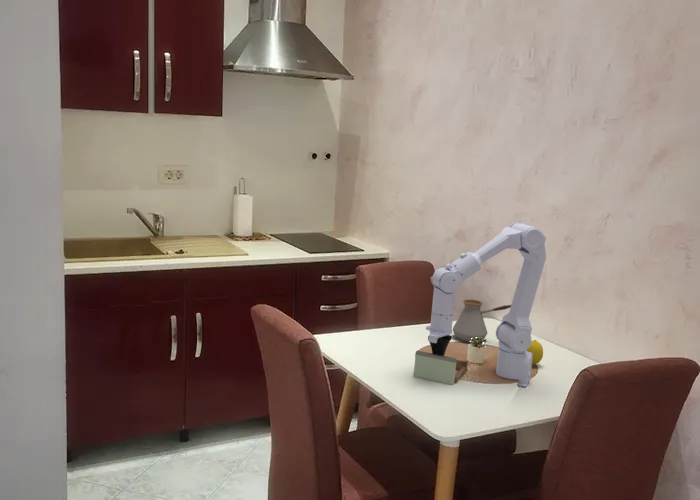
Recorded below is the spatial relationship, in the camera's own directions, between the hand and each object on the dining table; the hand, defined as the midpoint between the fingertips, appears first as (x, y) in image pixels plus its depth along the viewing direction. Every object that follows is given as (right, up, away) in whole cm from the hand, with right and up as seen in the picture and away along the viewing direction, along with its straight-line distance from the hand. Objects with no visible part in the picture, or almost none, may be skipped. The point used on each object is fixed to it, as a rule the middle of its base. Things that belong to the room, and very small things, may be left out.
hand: (437, 361), depth 179 cm
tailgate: (-1, -5, -1) cm, 5 cm away
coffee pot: (+20, 0, +40) cm, 45 cm away
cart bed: (+1, -5, +5) cm, 7 cm away
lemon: (+31, -5, +20) cm, 37 cm away
